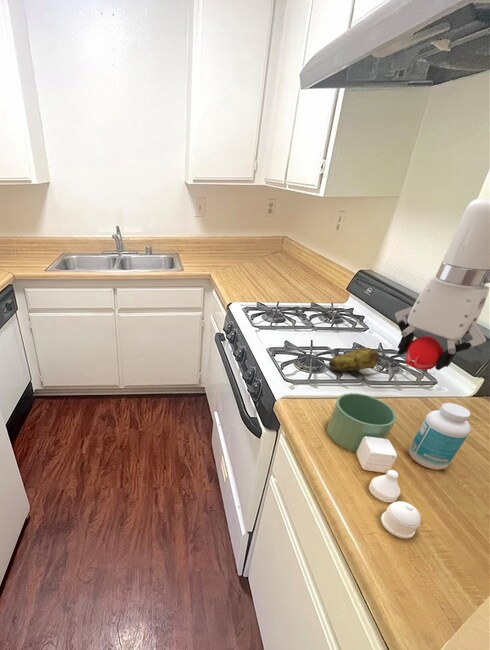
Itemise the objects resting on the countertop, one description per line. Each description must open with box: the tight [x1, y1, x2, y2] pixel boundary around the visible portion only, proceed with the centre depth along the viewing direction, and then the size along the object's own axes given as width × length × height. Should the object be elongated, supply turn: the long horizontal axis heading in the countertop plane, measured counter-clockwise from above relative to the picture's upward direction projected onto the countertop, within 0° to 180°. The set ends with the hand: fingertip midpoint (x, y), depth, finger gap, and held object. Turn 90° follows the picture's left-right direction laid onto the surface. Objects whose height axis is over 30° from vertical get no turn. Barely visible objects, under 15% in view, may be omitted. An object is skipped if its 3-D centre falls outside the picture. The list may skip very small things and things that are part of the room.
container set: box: [356, 436, 422, 539], centre depth 66 cm, size 20×5×6 cm, turn 170°
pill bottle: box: [408, 402, 472, 471], centre depth 72 cm, size 8×7×14 cm
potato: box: [328, 347, 380, 372], centre depth 104 cm, size 8×13×8 cm, turn 65°
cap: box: [405, 335, 444, 371], centre depth 72 cm, size 8×6×6 cm
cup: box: [326, 392, 397, 453], centre depth 79 cm, size 12×12×8 cm
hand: (420, 359), depth 73 cm, fingers closed on cap, 6 cm apart
